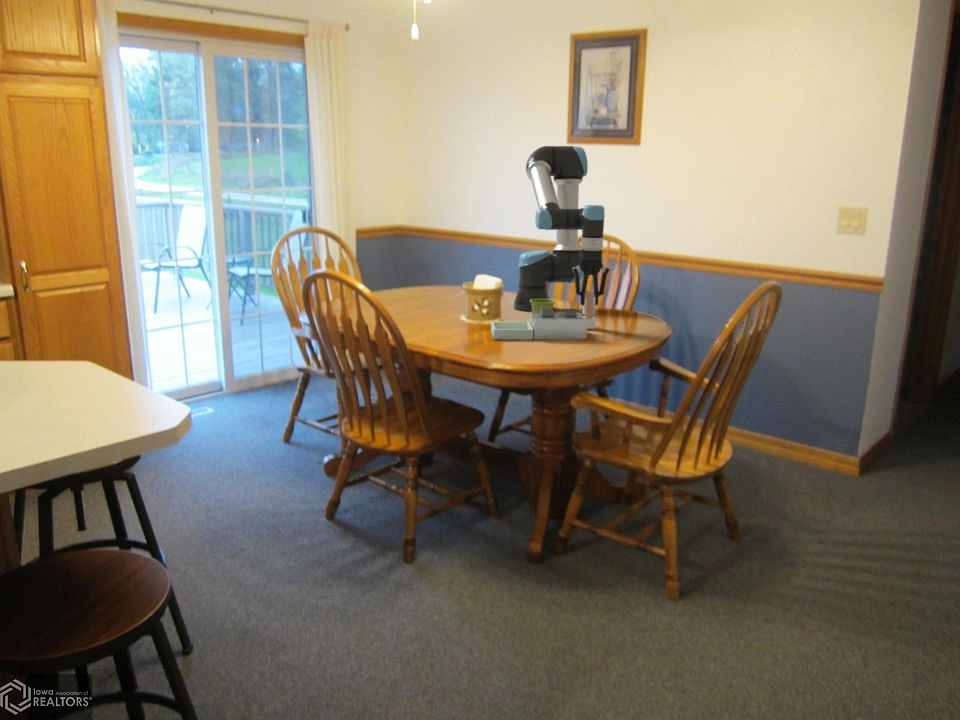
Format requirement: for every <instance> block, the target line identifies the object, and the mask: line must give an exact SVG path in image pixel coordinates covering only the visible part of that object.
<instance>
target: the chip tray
mask: <svg viewBox="0 0 960 720" xmlns="http://www.w3.org/2000/svg"><path fill="white" fill-rule="evenodd" d="M490 332H491V336H492V338H493V340H495V341H496V340H497V341H500V340H503V341H504V340H510V341H511V340H517V341H518V340H519V341H521V340H522V341H523V340H527V341H528V340H529V341H530V340H534V338H533V328H532V326H531V325H530V321H490Z"/></svg>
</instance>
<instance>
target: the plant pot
mask: <svg viewBox="0 0 960 720" xmlns="http://www.w3.org/2000/svg"><path fill="white" fill-rule="evenodd" d="M530 302H531V306H532V311H531V312H541V309H553V310H554V305H555V303H556V300H555V299H550V298H549V299H531V300H530Z"/></svg>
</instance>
